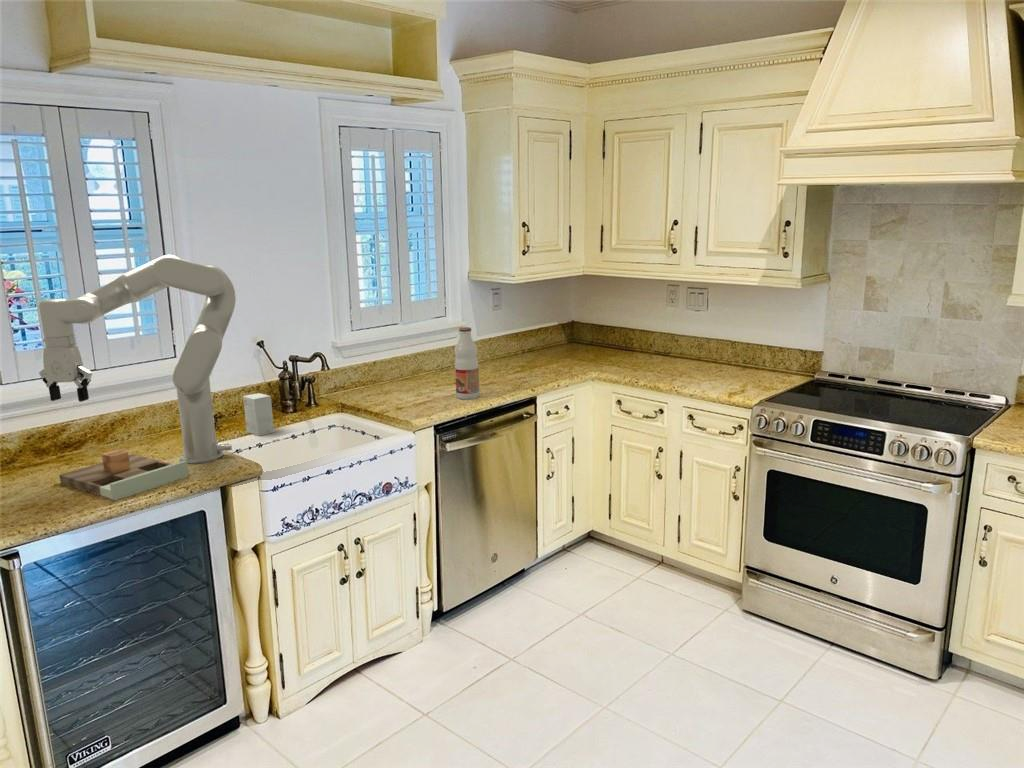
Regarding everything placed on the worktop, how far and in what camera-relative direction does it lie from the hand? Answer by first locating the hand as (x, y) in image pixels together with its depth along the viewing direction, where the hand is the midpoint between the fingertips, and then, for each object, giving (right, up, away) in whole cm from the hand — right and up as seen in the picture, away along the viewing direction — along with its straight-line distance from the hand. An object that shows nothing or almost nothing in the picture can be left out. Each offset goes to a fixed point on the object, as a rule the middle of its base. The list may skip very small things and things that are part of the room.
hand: (69, 400), depth 224 cm
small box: (+42, -12, +43) cm, 61 cm away
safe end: (+26, -24, -8) cm, 36 cm away
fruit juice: (+111, -1, +85) cm, 140 cm away
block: (+15, -20, -2) cm, 25 cm away
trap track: (+15, -22, -1) cm, 27 cm away
